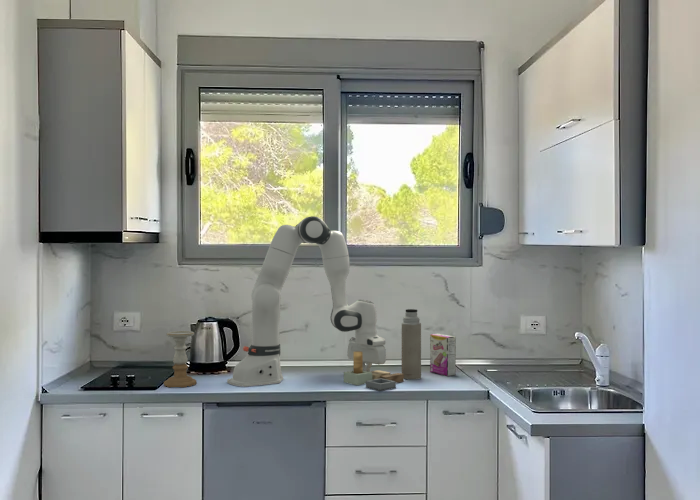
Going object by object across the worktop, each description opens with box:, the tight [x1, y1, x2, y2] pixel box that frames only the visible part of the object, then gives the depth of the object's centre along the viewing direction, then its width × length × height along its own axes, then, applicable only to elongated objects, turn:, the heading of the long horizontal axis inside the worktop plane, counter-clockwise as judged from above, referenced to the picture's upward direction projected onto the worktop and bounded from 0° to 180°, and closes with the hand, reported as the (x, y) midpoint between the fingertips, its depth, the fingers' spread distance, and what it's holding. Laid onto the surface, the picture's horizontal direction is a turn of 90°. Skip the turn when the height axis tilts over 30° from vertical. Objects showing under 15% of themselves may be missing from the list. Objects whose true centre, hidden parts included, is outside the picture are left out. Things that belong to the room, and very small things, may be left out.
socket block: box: [343, 370, 372, 386], centre depth 244 cm, size 8×8×4 cm
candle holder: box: [163, 330, 197, 388], centre depth 240 cm, size 12×12×20 cm
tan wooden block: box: [370, 369, 391, 380], centre depth 251 cm, size 9×7×3 cm
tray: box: [365, 378, 397, 392], centre depth 234 cm, size 8×8×2 cm
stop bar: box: [380, 372, 405, 384], centre depth 244 cm, size 10×3×3 cm, turn 131°
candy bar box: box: [429, 333, 457, 377], centre depth 262 cm, size 11×5×16 cm, turn 34°
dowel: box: [352, 351, 363, 374], centre depth 244 cm, size 4×4×12 cm
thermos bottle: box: [401, 308, 422, 380], centre depth 254 cm, size 8×8×28 cm
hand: (366, 372), depth 256 cm, fingers closed
